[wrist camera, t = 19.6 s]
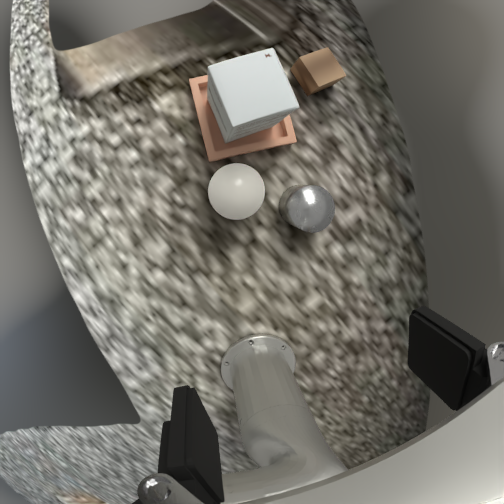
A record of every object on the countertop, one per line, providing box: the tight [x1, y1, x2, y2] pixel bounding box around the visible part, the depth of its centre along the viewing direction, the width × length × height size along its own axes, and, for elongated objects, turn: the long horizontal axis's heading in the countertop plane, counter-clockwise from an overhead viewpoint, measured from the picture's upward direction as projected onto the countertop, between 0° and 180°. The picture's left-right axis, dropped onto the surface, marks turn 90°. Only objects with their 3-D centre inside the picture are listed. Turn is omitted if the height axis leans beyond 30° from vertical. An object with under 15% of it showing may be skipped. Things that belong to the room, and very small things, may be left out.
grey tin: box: [279, 185, 335, 233], centre depth 39 cm, size 6×6×6 cm
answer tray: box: [189, 75, 297, 163], centre depth 37 cm, size 12×12×2 cm
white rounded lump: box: [208, 163, 265, 220], centre depth 36 cm, size 6×6×8 cm
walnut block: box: [290, 47, 346, 96], centre depth 36 cm, size 5×5×5 cm
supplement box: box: [207, 48, 299, 144], centre depth 31 cm, size 7×7×13 cm
